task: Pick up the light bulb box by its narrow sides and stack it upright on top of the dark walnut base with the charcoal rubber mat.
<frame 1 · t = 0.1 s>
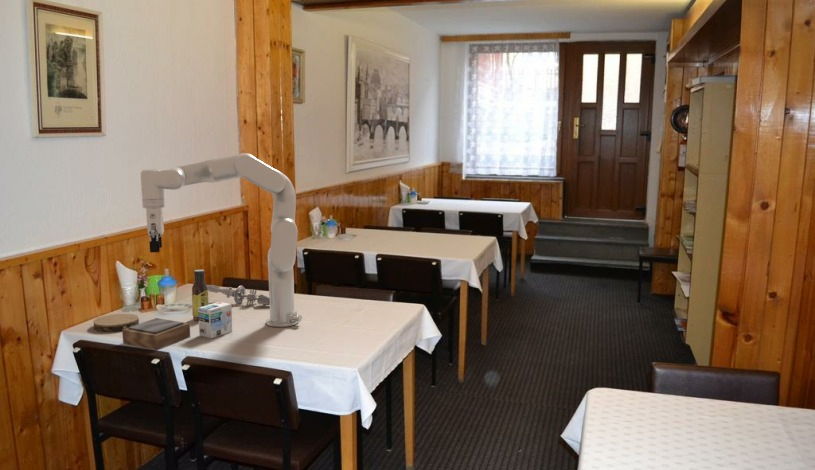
hand: (156, 249, 245), 31 cm above the table, fingers open, 9 cm apart
round wood slice: (116, 327, 257), on the table
spaceship: (239, 303, 290), on the table
sauce bottle: (201, 319, 266), on the table
light bulb box: (216, 334, 248), on the table
walnut base: (157, 339, 240), on the table
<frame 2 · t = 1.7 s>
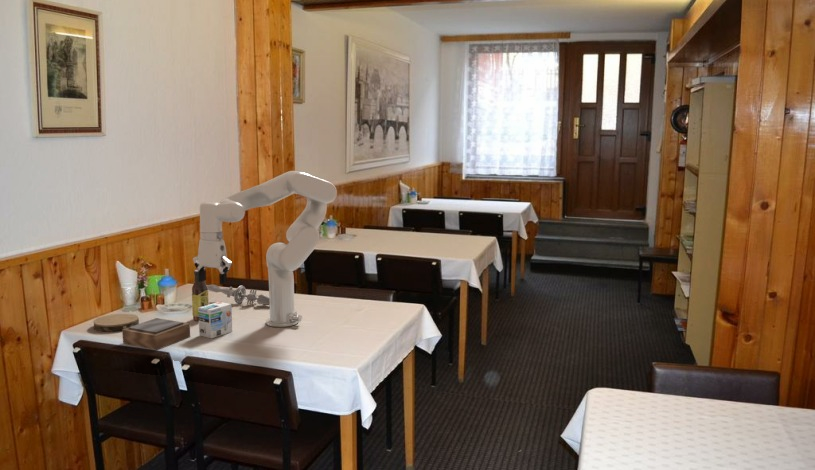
hand: (212, 282, 244), 19 cm above the table, fingers open, 9 cm apart
nothing on the table moved.
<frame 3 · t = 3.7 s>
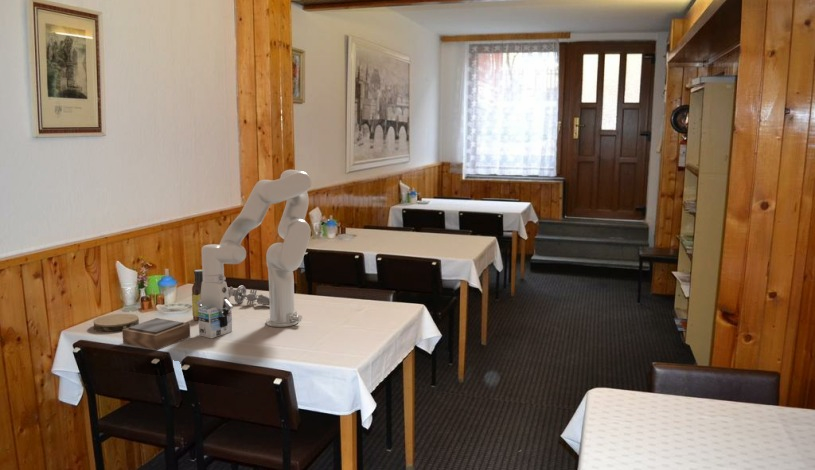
hand: (215, 324, 247), 3 cm above the table, fingers closed on light bulb box, 7 cm apart
light bulb box: (216, 334, 248), on the table, touching gripper
everything else where it was.
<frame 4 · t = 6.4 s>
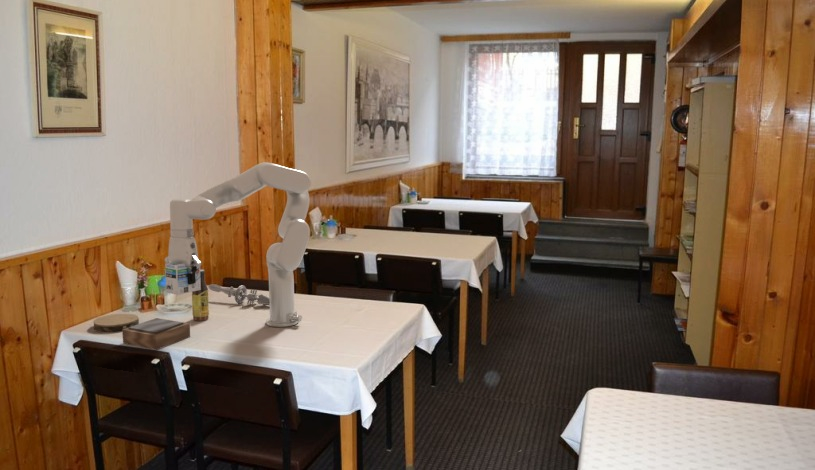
hand: (183, 282, 240), 20 cm above the table, fingers closed on light bulb box, 7 cm apart
light bulb box: (183, 291, 241), point 17 cm above the table, touching gripper
everything else where it was.
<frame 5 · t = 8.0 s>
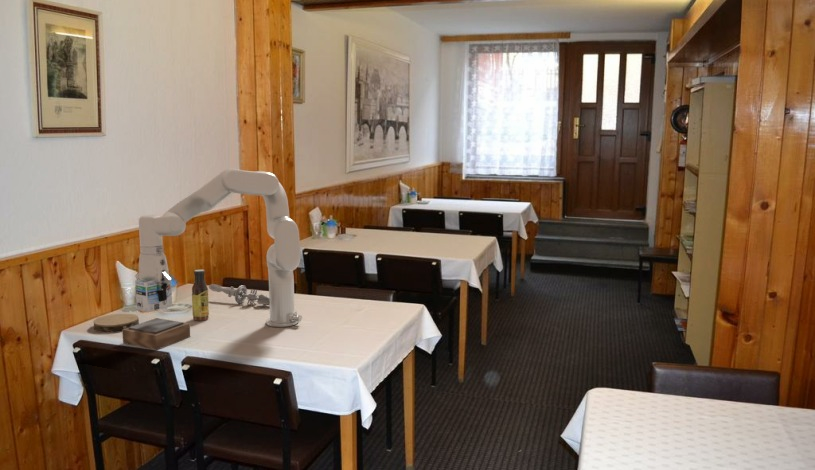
hand: (154, 299, 238), 15 cm above the table, fingers closed on light bulb box, 7 cm apart
light bulb box: (154, 308, 238), point 12 cm above the table, touching gripper
everything else where it was.
when the fingers open (10 cm above the table, at t = 9.4 s): light bulb box drops 1 cm, resting on walnut base.
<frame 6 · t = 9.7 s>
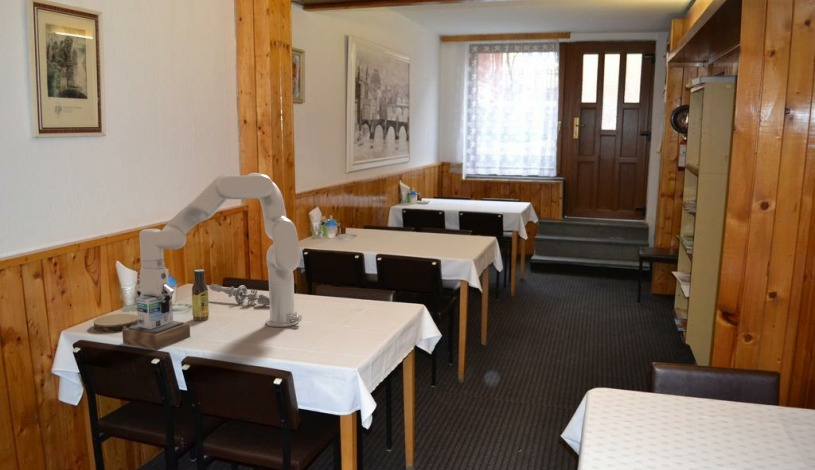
hand: (155, 310, 238), 11 cm above the table, fingers open, 9 cm apart
light bulb box: (156, 325, 239), point 5 cm above the table, touching walnut base
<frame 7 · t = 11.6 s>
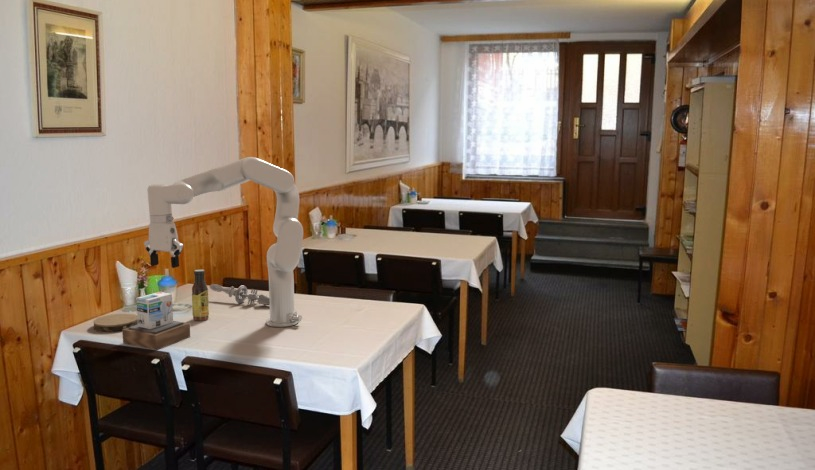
hand: (165, 266, 240), 26 cm above the table, fingers open, 9 cm apart
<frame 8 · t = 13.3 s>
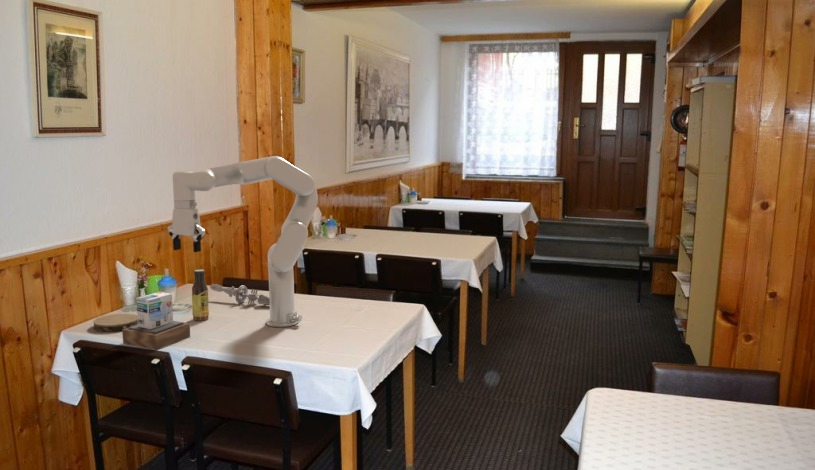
hand: (187, 250, 248), 30 cm above the table, fingers open, 9 cm apart
at the end: light bulb box inside the target area on the walnut base (0.3 cm from its centre), point 5.4 cm above the walnut base's base; light bulb box tilted 0°; the gripper is holding nothing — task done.
